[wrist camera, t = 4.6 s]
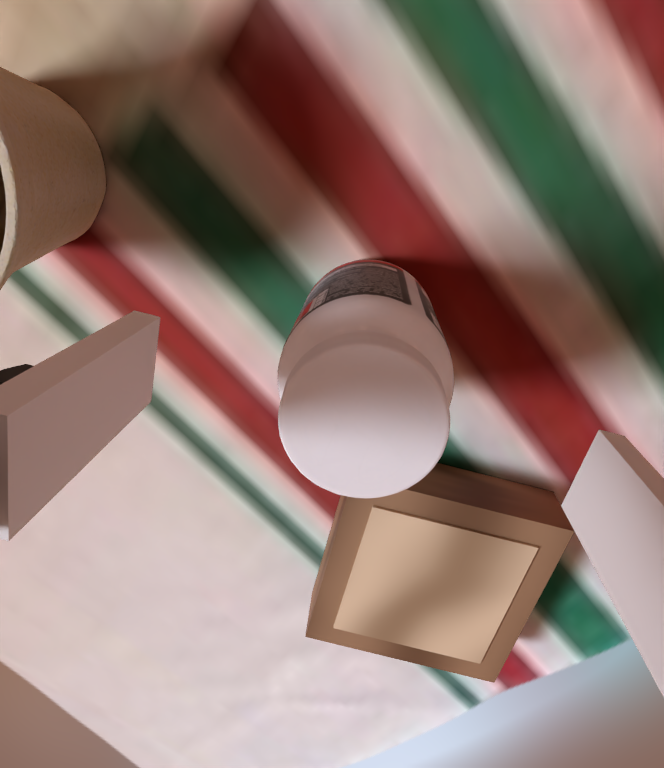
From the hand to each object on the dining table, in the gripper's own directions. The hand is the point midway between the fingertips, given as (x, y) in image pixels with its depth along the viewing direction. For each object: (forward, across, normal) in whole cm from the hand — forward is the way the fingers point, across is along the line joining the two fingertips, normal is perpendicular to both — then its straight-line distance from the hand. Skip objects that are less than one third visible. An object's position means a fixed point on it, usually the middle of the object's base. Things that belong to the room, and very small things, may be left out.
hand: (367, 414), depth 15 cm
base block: (+9, +6, -11) cm, 15 cm away
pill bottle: (+9, 0, 0) cm, 9 cm away
